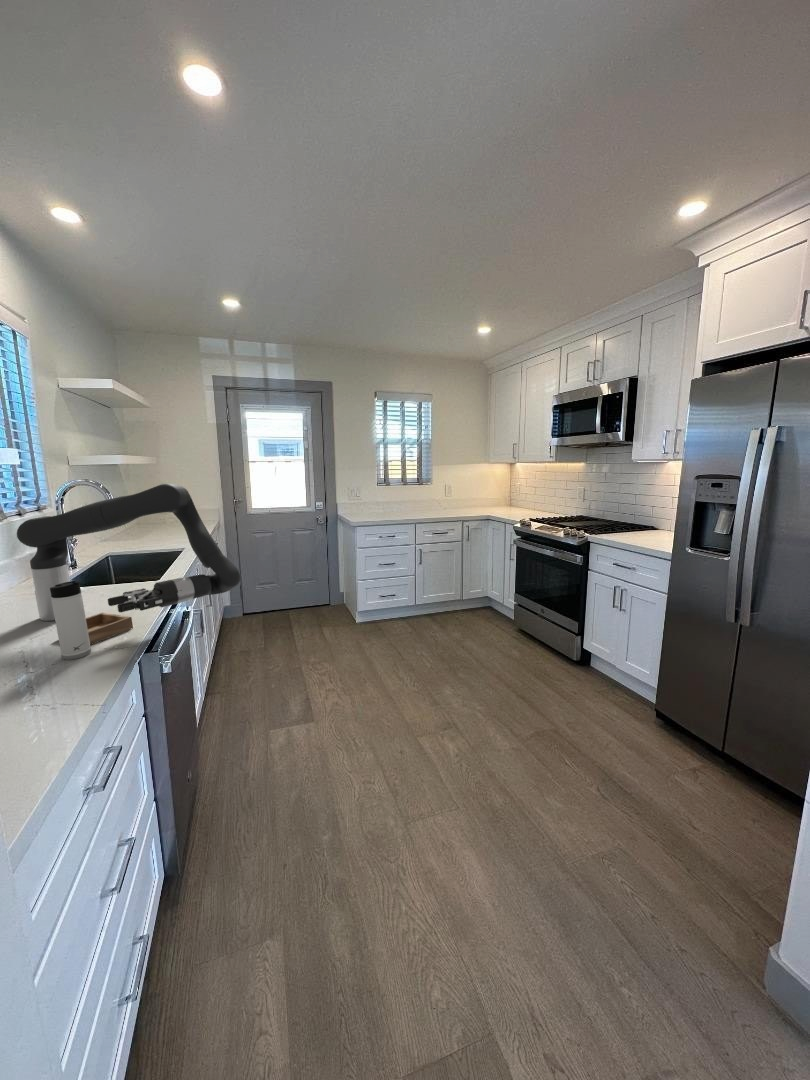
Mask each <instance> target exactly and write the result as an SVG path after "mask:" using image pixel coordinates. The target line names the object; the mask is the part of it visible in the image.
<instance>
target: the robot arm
mask: <svg viewBox="0 0 810 1080" xmlns="http://www.w3.org/2000/svg"><path fill="white" fill-rule="evenodd" d="M190 494H191V493H190V492H189V491H188V489H187V488H185V487H184V486H183V485H179V484H175V483H162V484H161V483H160V484H159V485H156V486H153V487H151V488H148V489H145V490H143V491H140V492H137V493H133V494H129V495H123V496H116V497H112V498H108V499H104V500H100V501H96V502H92V503H90V504H86V505H83V506H80V507H77V508H74V509H72V510H69V511H66V512H63V513H60V514H56V515H49V516H47V515H45V516H40V517H34V518H29V519H27V520H25V521H23V522H22V523H20V525H19V526H18V528H17V530H16V538H17V539H18V541H19V542H20V543H22V545H24V546H26V547H29V548H30V547H31V548H36V553H35V555H34V556H33V557H32V558H31V559H30V561H29V564H30V569H31V576H32V579H33V587H34V595H35V600H36V607H37V611H38V617H39V618H40V621H42V622H43V621H45V622H49V621H55V616H54V610H53V605H52V599H51V592H50V587H54V586H55V585H58V584H61V583H65V582H70V581H71V580H70V573H69V568H68V563H67V561H68V560H67V558H68V555H69V550H68V548H69V547H68V539H67V538H70V537H74V536H75V537H76V536H82V535H88V534H94V533H99V532H105V531H108V530H112V529H115V528H119V527H122V526H125V525H127V524H129V523H131V522H132V521H134V520H136V519H138V518H141V517H144V516H145V517H146V516H150V515H155V514H164V513H172V514H173V515H174V516H175V517H176V518H177V519H178V521H179V522H180V523H181V525H182V526H183V528H184V530H185V532H186V535H187V539H188V542H189V544H190V546H191V549H192V551H193V552H194V554H195V555H196V557H197V559H198V560H199V562H200V563H201V565H202V566H203V567H204V568H206V569H211V570H212V571H213V572H214V573H213V574H208V575H207V574H202V573H201V574H195V575H192V576H191V575H190V576H186V577H177V578H173V579H168V580H163V581H159V582H155V584H153V588H152V589H150V590H149V589H146V588H141V589H140V588H139V589H134V590H130V591H124V592H123V593H122V594H121V595H118V596H113V597H109V598H108V599H107V604H108V606H109V607H113V606H117V611H118V613H125V612H129V611H132V610H133V611H134V610H135V611H137V610H139V611H145V610H149V609H153V608H156V607H159V608H165V607H166V608H167V607H169V606H173V605H177V604H181V603H184V602H185V603H186V602H189V601H191V600H194V599H199V598H202V597H205V596H211V595H212V596H213V595H219V594H223V593H227V592H229V591H231V590H232V589H234V588H235V587H237V586H238V585H239V584H240V583H241V578H242V577H241V573H240V571H239V569H238V567H236V565H235V564H234V563H233V562H232V561H231V560H230V559H229V558H228V557H227V556H226V555H224V554H223V552H222V550H221V549H220V547H219V546H218V544H217V542H216V541H215V540H214V538H213V537H212V535H211V534H210V532H209V531H208V529H207V527H206V526H205V523H204V522H203V520H202V517H200V514H199V512H198V509H197V508H196V505H195V503H194V501H193V499H192V496H191V495H190Z"/></svg>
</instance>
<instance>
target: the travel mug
mask: <svg viewBox="0 0 810 1080" xmlns="http://www.w3.org/2000/svg"><path fill="white" fill-rule="evenodd" d="M81 583H82V582H81V580H77V579H76V580H70V582H65V583H61V584H58V585H55V586H54V587H50V592H51V599H52V605H53V610H54V616H55V620H54V621H55V626H56V631H57V638H58V643H59V647H60V649H59V650H60V654H61V658H62V659H63V660H67V661H71V660H76V659H80V658H84V657H86V656H88V655H90V654H91V652H92V648H91V645H90V641H89V635H88V629H87V623H86V618H87V617H86V612H85V605H84V600H83V594H82V590H81V585H80V584H81Z"/></svg>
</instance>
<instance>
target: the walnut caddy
mask: <svg viewBox="0 0 810 1080" xmlns="http://www.w3.org/2000/svg"><path fill="white" fill-rule="evenodd" d="M86 623H87V629H88V635H89V641H90V644H91V645H93V644H95V642H96V643H98V642H101V641H103V639H104V640H106V639H109V638H111V637H114V636H116V635H119V634H122V633H124V632H126V631H129V630H132V629H133V628H134V625H133V618H132V616H126V615H121V614H120V615H119V614H115V613H107V612H100V613H97V614H94V615H91V616H88V617H86ZM131 628H132V629H131ZM118 633H119V634H118ZM113 635H114V636H113ZM108 637H109V638H108ZM100 640H101V641H100ZM97 641H98V642H97ZM92 643H93V644H92Z"/></svg>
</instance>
